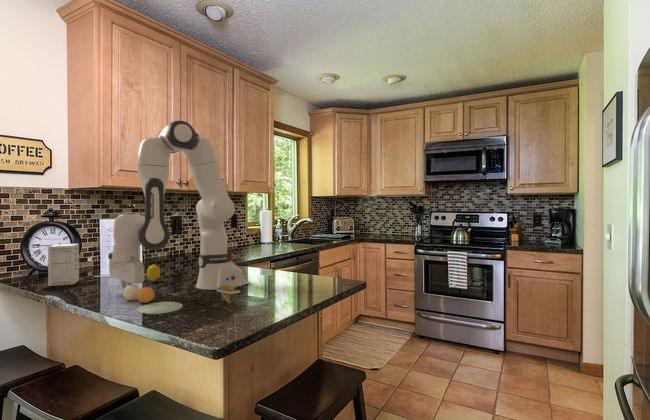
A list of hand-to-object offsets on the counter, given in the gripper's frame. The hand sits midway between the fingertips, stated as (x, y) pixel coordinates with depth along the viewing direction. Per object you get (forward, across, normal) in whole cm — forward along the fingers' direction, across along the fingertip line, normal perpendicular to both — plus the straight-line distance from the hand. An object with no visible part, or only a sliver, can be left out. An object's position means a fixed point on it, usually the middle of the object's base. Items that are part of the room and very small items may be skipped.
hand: (126, 292), depth 133 cm
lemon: (+2, +18, -20) cm, 27 cm away
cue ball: (-1, -7, +1) cm, 7 cm away
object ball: (-1, -14, 0) cm, 14 cm away
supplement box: (+2, +44, +6) cm, 44 cm away
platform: (+2, -36, -18) cm, 40 cm away
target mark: (+2, -24, 0) cm, 24 cm away
